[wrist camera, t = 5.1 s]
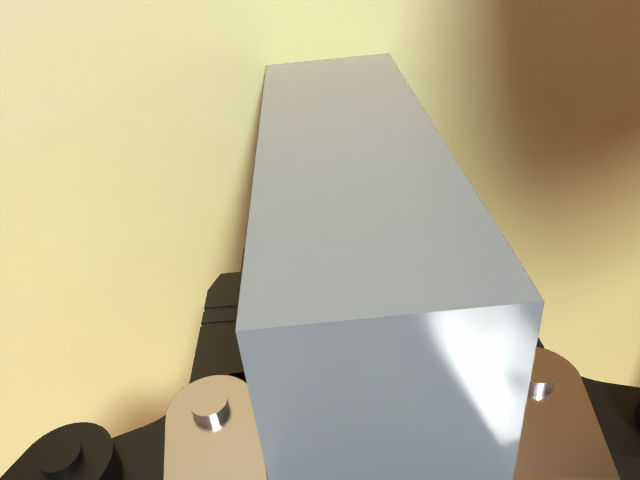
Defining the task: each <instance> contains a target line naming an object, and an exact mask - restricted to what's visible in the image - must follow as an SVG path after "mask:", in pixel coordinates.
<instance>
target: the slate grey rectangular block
mask: <svg viewBox="0 0 640 480" xmlns="http://www.w3.org/2000/svg"><path fill="white" fill-rule="evenodd" d="M543 306H544V300H543V298H542V296H541V295H540V293H539V292H538V290H537V289H536V287H535V285H534V284H533V282H532V281H531V279H530V277H529V276H528V274H527V273H526V271H525V269H524V268H523V266H522V265H521V263H520V261H519V260H518V258H517V257H516V255H515V253H514V252H513V250H512V249H511V247H510V246H509V244H508V242H507V241H506V239H505V238H504V236H503V234H502V233H501V231H500V230H499V228H498V226H497V225H496V223H495V222H494V220H493V218H492V217H491V215H490V214H489V212H488V210H487V209H486V207H485V206H484V204H483V203H482V201H481V199H480V198H479V196H478V195H477V193H476V191H475V190H474V188H473V187H472V185H471V183H470V182H469V180H468V179H467V177H466V175H465V174H464V172H463V171H462V169H461V167H460V166H459V164H458V163H457V161H456V160H455V158H454V156H453V155H452V153H451V152H450V150H449V148H448V147H447V145H446V144H445V142H444V140H443V139H442V137H441V136H440V134H439V132H438V131H437V129H436V128H435V126H434V124H433V123H432V121H431V120H430V118H429V117H428V115H427V113H426V112H425V110H424V109H423V107H422V105H421V104H420V102H419V101H418V99H417V97H416V96H415V94H414V93H413V91H412V89H411V88H410V86H409V85H408V83H407V82H406V80H405V78H404V77H403V75H402V74H401V72H400V70H399V69H398V67H397V66H396V64H395V62H394V61H393V59H392V58H391V56H390V54H389V53H387V54H377V55H367V56H356V57H346V58H336V59H326V60H316V61H305V62H295V63H285V64H275V65H266V72H265V80H264V89H263V98H262V106H261V115H260V123H259V132H258V141H257V149H256V158H255V166H254V175H253V184H252V192H251V201H250V209H249V218H248V227H247V235H246V244H245V253H244V261H243V270H242V278H241V287H240V296H239V304H238V313H237V321H236V330H235V332H236V336H237V341H238V345H239V350H240V354H241V359H242V363H243V368H244V372H245V377H246V381H247V386H248V390H249V395H250V399H251V404H252V408H253V413H254V418H255V422H256V427H257V431H258V436H259V440H260V445H261V449H262V454H263V458H264V463H265V467H266V472H267V476H268V480H513V475H514V470H515V464H516V458H517V453H518V447H519V441H520V436H521V430H522V424H523V419H524V413H525V407H526V402H527V396H528V390H529V385H530V379H531V374H532V368H533V362H534V357H535V351H536V345H537V340H538V334H539V328H540V323H541V317H542V311H543Z"/></svg>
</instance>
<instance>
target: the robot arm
mask: <svg viewBox="0 0 640 480" xmlns="http://www.w3.org/2000/svg"><path fill="white" fill-rule="evenodd" d="M244 253H245V248H244V251H243V258H242V267H241V272H235V273H225V274H220V276H219V277H218V278H217V279H216V281H215V282H214V283H213V285H212V286H211V287H210V288H209V290H208V292H207V297H206V302H205V307H204V310H205V312H203V317H202V322H201V324H202V327H200V333H199V338H198V343H197V348H196V353H195V358H194V363H193V368H192V373H191V378H190V383H189V385H187V386H186V387H184V388H183V389H182V390H181V391H180V392H179V393H178V394H176V396H175V397H174V398H173V400H172V401H171V403H170V405H169V407H168V409H167V412H166V415H165V416H164V417H162V418H160V419H159V420H157V421H155V422H153V423H151V424H149V425H146V426H144V427H141V428H138V429H136V430H133V431H130V432H127V433H125V434H122V435H119V436H117V437H114V438H111V436H110V434H109V433H108V432H107V430H105V429H104V428H103V427H102V426H99V425H97V424H93V423H87V422H80V423H73V424H68V425H65V426H62V427H59V428H57V429H55V430H53V431H51V432H49V433H47V434H46V435H44V436H42V437H41V438H40V439H38V440H37V441H36V442H35V443H33V444H32V445H31V446H30V447H29V448H28V449H27V450H26V451H25V452H24V453H23V454H22V456H21V457H20V458H19V459H18V460H17V461H16V462H15V463H14V464H13V465H12V466H11V467H10V468H9V469H8V470H7V471H6V472H5V473H4V475H3V476H2V477H1V478H0V480H268V476H267V472H266V467H265V463H264V458H263V454H262V449H261V445H260V440H259V436H258V431H257V427H256V422H255V418H254V413H253V408H252V404H251V399H250V395H249V390H248V386H247V381H246V377H245V372H244V368H243V363H242V359H241V354H240V350H239V345H238V341H237V336H236V332H235V330H236V321H237V313H238V304H239V296H240V287H241V278H242V270H243V261H244ZM513 480H640V388H638V387H631V386H625V385H618V384H612V383H605V382H599V381H594V380H591V379H587V378H584V377H581V376H580V374H579V372H578V371H577V370H576V368H575V367H574V366H573V365H572V364H571V363H570V362H569V361H568V360H566V359H565V358H564V357H562V356H560V355H559V354H557V353H555V352H552V351H550V350H547V349H545V348H544V346H543V345H542V343H541V341H540V339H539V338H538V340H537V345H536V351H535V357H534V362H533V368H532V374H531V379H530V385H529V390H528V396H527V402H526V407H525V413H524V419H523V424H522V430H521V436H520V441H519V447H518V453H517V458H516V464H515V470H514V475H513Z"/></svg>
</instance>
